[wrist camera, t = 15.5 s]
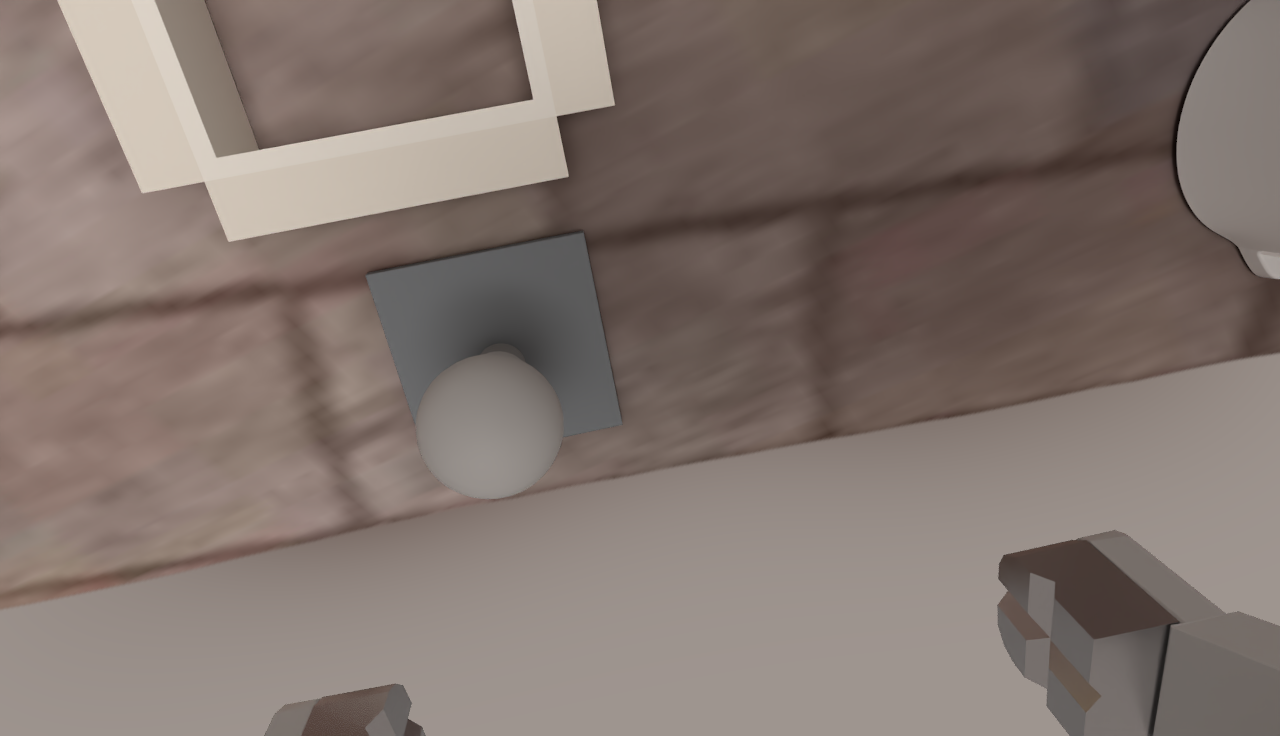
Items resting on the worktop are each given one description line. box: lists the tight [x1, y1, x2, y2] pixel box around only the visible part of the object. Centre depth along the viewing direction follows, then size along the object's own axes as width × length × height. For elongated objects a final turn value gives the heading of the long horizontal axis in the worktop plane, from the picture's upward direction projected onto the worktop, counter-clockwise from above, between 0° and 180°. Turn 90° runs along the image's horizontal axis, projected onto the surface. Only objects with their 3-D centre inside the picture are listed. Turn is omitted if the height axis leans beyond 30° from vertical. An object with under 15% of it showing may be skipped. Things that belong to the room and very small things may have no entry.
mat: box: [366, 231, 623, 437], centre depth 37 cm, size 11×11×1 cm
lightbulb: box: [416, 343, 564, 499], centre depth 31 cm, size 6×6×11 cm
